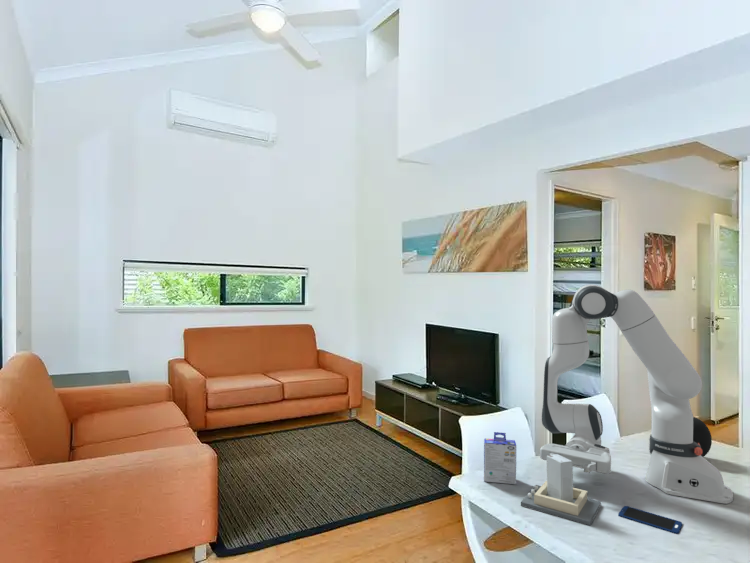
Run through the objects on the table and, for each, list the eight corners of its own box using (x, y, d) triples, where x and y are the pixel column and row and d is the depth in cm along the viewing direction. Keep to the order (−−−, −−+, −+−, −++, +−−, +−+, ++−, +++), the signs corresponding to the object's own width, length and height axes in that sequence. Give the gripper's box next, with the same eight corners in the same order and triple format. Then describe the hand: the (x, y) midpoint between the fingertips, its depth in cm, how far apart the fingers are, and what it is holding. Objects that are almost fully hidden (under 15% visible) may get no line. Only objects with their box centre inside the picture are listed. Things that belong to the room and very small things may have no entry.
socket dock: (600, 505, 132) (601, 492, 132) (590, 525, 121) (590, 511, 121) (536, 488, 142) (536, 476, 142) (520, 505, 131) (520, 492, 131)
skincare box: (574, 504, 130) (574, 461, 130) (560, 507, 128) (561, 462, 128) (558, 495, 135) (558, 453, 135) (545, 497, 134) (546, 455, 134)
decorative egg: (662, 455, 172) (662, 414, 172) (683, 450, 177) (684, 410, 177) (697, 467, 160) (698, 423, 161) (719, 462, 166) (719, 419, 166)
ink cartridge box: (515, 477, 150) (515, 432, 150) (516, 485, 144) (517, 438, 144) (483, 475, 152) (483, 430, 152) (483, 482, 146) (484, 435, 146)
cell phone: (678, 536, 117) (678, 533, 117) (617, 517, 126) (617, 514, 126) (683, 525, 122) (683, 522, 122) (624, 507, 131) (624, 504, 131)
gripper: (546, 435, 156) (533, 447, 144) (614, 449, 144) (606, 463, 132) (546, 454, 156) (533, 468, 144) (614, 469, 144) (606, 485, 132)
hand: (569, 465), depth 138 cm, fingers open, 8 cm apart
